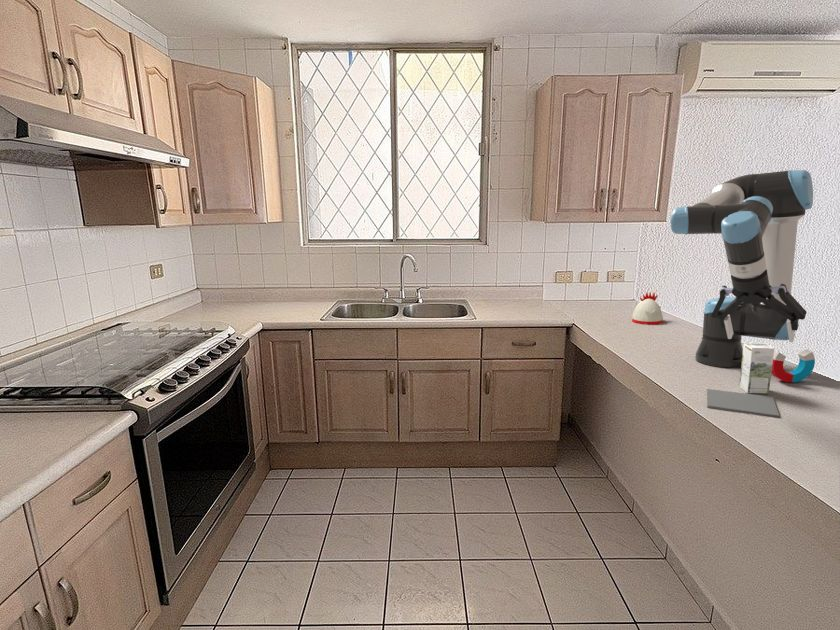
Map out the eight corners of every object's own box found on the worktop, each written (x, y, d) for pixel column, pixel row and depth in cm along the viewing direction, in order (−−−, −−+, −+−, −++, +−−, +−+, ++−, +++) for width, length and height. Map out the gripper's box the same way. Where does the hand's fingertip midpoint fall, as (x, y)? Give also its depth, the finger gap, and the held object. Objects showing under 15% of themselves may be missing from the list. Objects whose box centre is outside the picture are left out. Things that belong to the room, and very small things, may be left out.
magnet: (806, 379, 144) (810, 349, 142) (812, 382, 141) (816, 351, 139) (766, 380, 145) (769, 350, 143) (772, 383, 142) (775, 352, 140)
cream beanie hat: (666, 324, 220) (668, 294, 217) (636, 325, 223) (637, 294, 220) (657, 318, 234) (658, 289, 230) (628, 318, 236) (629, 290, 233)
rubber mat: (707, 390, 140) (707, 388, 139) (772, 398, 131) (772, 396, 131) (707, 407, 128) (707, 405, 128) (779, 417, 120) (779, 415, 119)
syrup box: (759, 387, 140) (764, 342, 137) (769, 394, 134) (774, 347, 131) (738, 387, 141) (742, 341, 138) (747, 394, 135) (752, 347, 132)
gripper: (689, 281, 122) (704, 343, 131) (810, 277, 103) (818, 349, 112) (697, 266, 126) (711, 327, 134) (815, 260, 107) (823, 330, 116)
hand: (760, 337), depth 123 cm, fingers open, 13 cm apart
